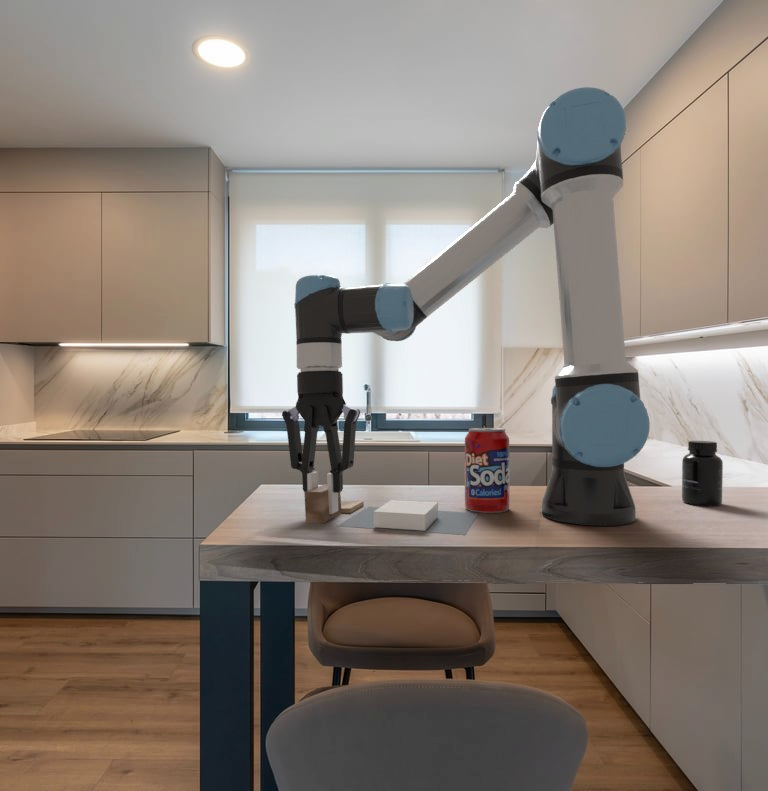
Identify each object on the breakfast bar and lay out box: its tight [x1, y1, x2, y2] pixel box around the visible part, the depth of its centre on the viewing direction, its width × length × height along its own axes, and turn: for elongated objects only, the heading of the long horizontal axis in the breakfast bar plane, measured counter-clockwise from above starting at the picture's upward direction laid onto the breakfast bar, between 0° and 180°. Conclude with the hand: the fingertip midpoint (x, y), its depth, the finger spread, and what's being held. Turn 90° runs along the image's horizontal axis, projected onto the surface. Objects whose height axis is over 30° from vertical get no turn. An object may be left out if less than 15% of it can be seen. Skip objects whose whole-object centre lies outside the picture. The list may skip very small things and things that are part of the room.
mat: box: [336, 506, 480, 536], centre depth 92 cm, size 20×16×1 cm
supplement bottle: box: [681, 440, 724, 507], centre depth 109 cm, size 7×7×12 cm
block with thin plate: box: [303, 484, 364, 525], centre depth 97 cm, size 6×16×5 cm, turn 163°
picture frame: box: [374, 499, 439, 531], centre depth 89 cm, size 8×3×10 cm
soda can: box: [464, 427, 510, 514], centre depth 100 cm, size 8×8×15 cm
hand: (323, 511), depth 93 cm, fingers closed on block with thin plate, 3 cm apart
